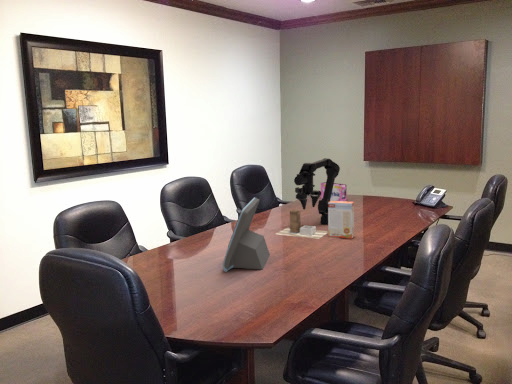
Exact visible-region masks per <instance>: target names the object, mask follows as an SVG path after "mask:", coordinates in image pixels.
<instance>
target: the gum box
mask: <svg viewBox="0 0 512 384" xmlns="http://www.w3.org/2000/svg"><path fill="white" fill-rule="evenodd" d="M325 185H326V181H325V182H320V191H321V195H320V200H322V199H323V195H324V190H325ZM347 186H348V185H347V184H343V183H336V182H334V185H333V190H332V194H331V199H330V201H347V200H348V198H347V193H348V192H347V189H348V188H347ZM347 202H348V201H347Z"/></svg>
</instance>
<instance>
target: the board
mask: <svg viewBox="0 0 512 384" xmlns="http://www.w3.org/2000/svg"><path fill="white" fill-rule="evenodd" d="M327 234H328V230H318V229H316V233H315V234H314V235H312V236H308V235H300V232H298V233H293V232H290V227H286V228H284V229H282V230H279V231H278V232H276V233H275V235H279V236H288V237H296V238H308V239H318V240H320V239H321V238H323V237H324V236H326V235H327Z"/></svg>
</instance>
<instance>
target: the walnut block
mask: <svg viewBox="0 0 512 384" xmlns="http://www.w3.org/2000/svg"><path fill="white" fill-rule="evenodd" d="M301 222H302V221H301V210H299V209H292V210H289V228H290V232H293V233H298V232H300V228H301V227H302V226H301Z"/></svg>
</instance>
